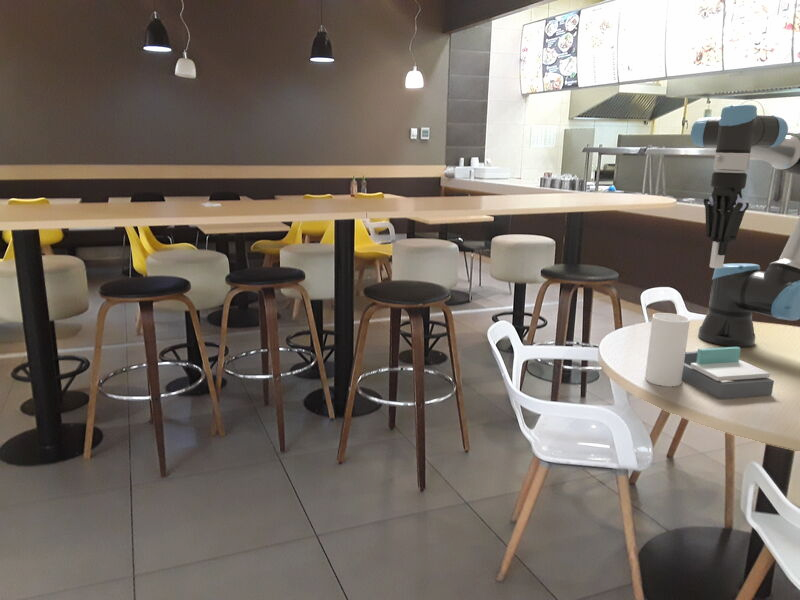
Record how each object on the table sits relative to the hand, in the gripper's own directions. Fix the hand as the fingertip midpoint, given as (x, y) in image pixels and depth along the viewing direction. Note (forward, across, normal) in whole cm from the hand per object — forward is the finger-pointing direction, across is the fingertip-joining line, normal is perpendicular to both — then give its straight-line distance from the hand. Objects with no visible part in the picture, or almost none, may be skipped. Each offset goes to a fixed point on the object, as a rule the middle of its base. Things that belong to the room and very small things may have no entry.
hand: (716, 267), depth 157 cm
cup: (+27, +7, -16) cm, 32 cm away
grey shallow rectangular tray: (+26, +9, -4) cm, 28 cm away
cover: (+23, +14, -4) cm, 27 cm away
